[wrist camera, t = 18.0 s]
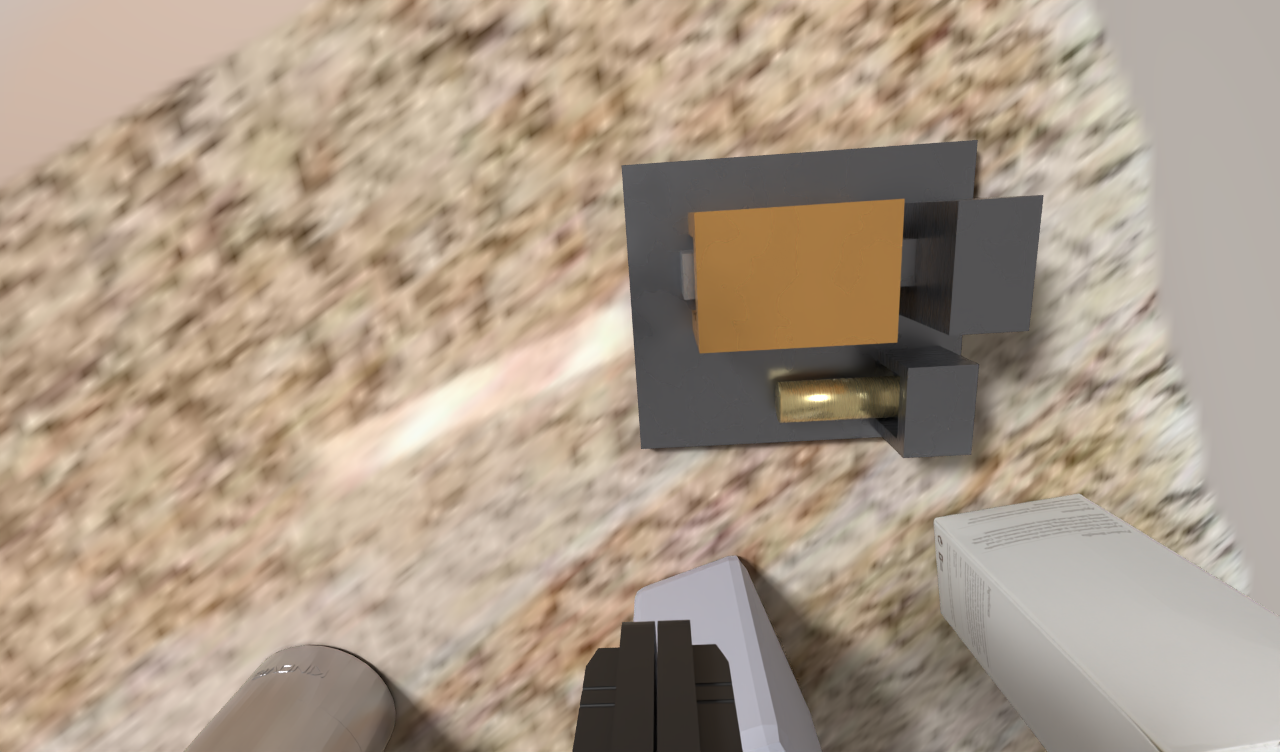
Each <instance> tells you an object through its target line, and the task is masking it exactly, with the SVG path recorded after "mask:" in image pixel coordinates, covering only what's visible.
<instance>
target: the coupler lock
mask: <svg viewBox="0 0 1280 752" xmlns="http://www.w3.org/2000/svg"><path fill="white" fill-rule="evenodd" d="M904 202H905V199H892V200H875V201H858V202H843V203H828V204H812V205H797V206H782V207H767V208H752V209H737V210H721V211H706V212H691V213H688V226H689V235H690V236H692V237H693V249H694V274H695V299H696V310H692V324H693V333H694V336H695V340H696V343H697V346H698V350H699V353H717V352H735V351H753V350H772V349H790V348H808V347H826V346H844V345H862V344H880V343H897V340H898V321H899V301H900V281H901V261H902V242H903V222H904Z"/></svg>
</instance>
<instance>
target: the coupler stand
mask: <svg viewBox="0 0 1280 752" xmlns="http://www.w3.org/2000/svg"><path fill="white" fill-rule="evenodd" d="M977 141H978V140H972V141H958V142H944V143H930V144H916V145H902V146H888V147H874V148H860V149H846V150H832V151H818V152H804V153H790V154H776V155H762V156H748V157H734V158H720V159H706V160H692V161H678V162H664V163H650V164H636V165H622V177H623V192H624V206H625V221H626V235H627V250H628V264H629V278H630V293H631V307H632V322H633V336H634V351H635V365H636V379H637V394H638V408H639V423H640V437H641V449H650V448H670V447H690V446H710V445H730V444H750V443H770V442H790V441H810V440H830V439H850V438H870V437H883V438H884V439H885V440H886V441H887V442H888V443H889V444H890V445H891V446H892V447H893V448H894V449H895V450H896V451H897V452H898V453H899V454H900V455H901V456H902V457H903V458H911V457H932V456H953V455H971V450H972V439H973V427H974V416H975V404H976V393H977V381H978V369H979V364H977V363H975V362H973V361H971V360H969V359H967V358H965V357H962V356H961V346H962V335H966V334H983V333H1001V332H1018V331H1029V325H1030V316H1031V307H1032V297H1033V288H1034V279H1035V270H1036V260H1037V251H1038V242H1039V232H1040V223H1041V214H1042V204H1043V195H1036V196H1014V197H993V198H973V192H974V179H975V166H976V154H977ZM892 199H905V202H904V222H903V242H902V261H901V281H900V301H899V321H898V340H897V343H880V344H862V345H844V346H826V347H808V348H790V349H772V350H753V351H735V352H717V353H699V350H698V346H697V343H696V340H695V336H694V333H693V324H692V310H696V299H695V274H694V249H693V237H692V236H690V235H689V226H688V213H691V212H706V211H721V210H737V209H752V208H767V207H782V206H797V205H812V204H828V203H843V202H858V201H875V200H892ZM896 375H899V376H900V392H899V411H898V417H886V418H866V419H847V420H827V421H808V422H788V423H779V421H778V419H777V415H776V408H775V386H776V383H777V382H786V381H804V380H823V379H841V378H860V377H878V376H896Z"/></svg>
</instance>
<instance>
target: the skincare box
mask: <svg viewBox="0 0 1280 752" xmlns="http://www.w3.org/2000/svg"><path fill="white" fill-rule="evenodd" d="M934 533H935V547H936V560H937V573H938V585H939V597H940V610H941V614H942V615H943V617H944V618H945V619H946V621H947V622H948V623H949V624H950V626H951V627H952V628H953V629H954V630H955V632H956V633H957V635H958V636H959V637H960V639H961V640H962V641H963V643H964V644H965V645H966V646H967V648H968V649H969V650H970V652H971V653H972V654H973V655H974V657H975V658H976V659H977V661H978V662H979V663H980V665H981V666H982V667H983V668H984V670H985V671H986V672H987V674H988V675H989V676H990V678H991V679H992V680H993V681H994V683H995V684H996V685H997V687H998V688H999V689H1000V691H1001V692H1002V693H1003V694H1004V696H1005V697H1006V698H1007V700H1008V701H1009V702H1010V703H1011V705H1012V706H1013V708H1014V709H1015V710H1016V711H1017V713H1018V714H1019V715H1020V716H1021V718H1022V719H1023V720H1024V722H1025V723H1026V724H1027V725H1028V727H1029V728H1030V729H1031V731H1032V732H1033V733H1034V734H1035V736H1036V737H1037V738H1038V740H1039V741H1040V742H1041V744H1042V745H1043V746H1044V748H1045V749H1046V750H1047V752H1280V616H1279V615H1277V614H1275V613H1274V612H1272V611H1271V610H1269V609H1267V608H1266V607H1264V606H1263V605H1261V604H1259V603H1258V602H1256V601H1254V600H1253V599H1251V598H1249V597H1248V596H1246V595H1245V594H1243V593H1241V592H1240V591H1238V590H1236V589H1235V588H1233V587H1231V586H1230V585H1228V584H1226V583H1225V582H1223V581H1221V580H1220V579H1218V578H1217V577H1215V576H1213V575H1212V574H1210V573H1208V572H1207V571H1205V570H1204V569H1202V568H1200V567H1199V566H1197V565H1195V564H1194V563H1192V562H1190V561H1189V560H1187V559H1185V558H1184V557H1182V556H1180V555H1179V554H1177V553H1175V552H1174V551H1172V550H1171V549H1169V548H1167V547H1166V546H1164V545H1162V544H1161V543H1159V542H1157V541H1156V540H1154V539H1152V538H1151V537H1149V536H1148V535H1146V534H1144V533H1143V532H1141V531H1140V530H1138V529H1136V528H1135V527H1133V526H1131V525H1130V524H1128V523H1126V522H1125V521H1123V520H1121V519H1120V518H1118V517H1116V516H1115V515H1113V514H1112V513H1110V512H1108V511H1107V510H1105V509H1103V508H1102V507H1100V506H1099V505H1097V504H1095V503H1094V502H1092V501H1090V500H1089V499H1087V498H1085V497H1084V496H1082V495H1081V494H1073V495H1068V496H1062V497H1056V498H1049V499H1043V500H1037V501H1031V502H1025V503H1019V504H1013V505H1007V506H1001V507H995V508H989V509H983V510H978V511H972V512H966V513H960V514H954V515H948V516H943V517H938V518H935V519H934Z"/></svg>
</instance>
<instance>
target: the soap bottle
mask: <svg viewBox="0 0 1280 752" xmlns="http://www.w3.org/2000/svg"><path fill="white" fill-rule="evenodd" d="M665 620H690V625H691V637H692V645H703V644H716V645H717V646H718V647H719V649H720V650H721V652H722V653H723V654H724V656H725V657H726V658H727V660H728V661H729V667H730V673H731V679H732V686H733V692H734V698H735V705H736V711H737V717H738V724H739V730H740V736H741V743H742V749H743V752H822V750H821V747H820V743H819V740H818V737H817V733H816V730H815V727H814V724H813V720H812V717H811V714H810V711H809V709H808V706H807V704H806V702H805V700H804V697H803V695H802V693H801V691H800V688H799V686H798V684H797V682H796V679H795V677H794V675H793V673H792V670H791V668H790V666H789V664H788V661H787V659H786V657H785V655H784V652H783V650H782V648H781V646H780V643H779V641H778V639H777V637H776V634H775V632H774V630H773V628H772V625H771V623H770V621H769V619H768V616H767V614H766V612H765V609H764V607H763V605H762V603H761V600H760V598H759V596H758V594H757V591H756V589H755V587H754V585H753V582H752V580H751V578H750V576H749V573H748V571H747V569H746V568H745V567H744V565H743V564H742V563H741V561H740V560H739V559H738V557H737V556H728V557H725V558H722V559H719V560H717V561H714V562H711V563H708V564H706V565H703V566H700V567H697V568H695V569H692V570H689V571H686V572H684V573H681V574H678V575H675V576H673V577H670V578H667V579H664V580H662V581H659V582H656V583H653V584H651V585H648V586H645V587H643V588H642V589H640V590H639V591H638V592H637V594H636V596H635V606H634V622H642V621H655V626H656V640H657V622H658V621H665Z"/></svg>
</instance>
